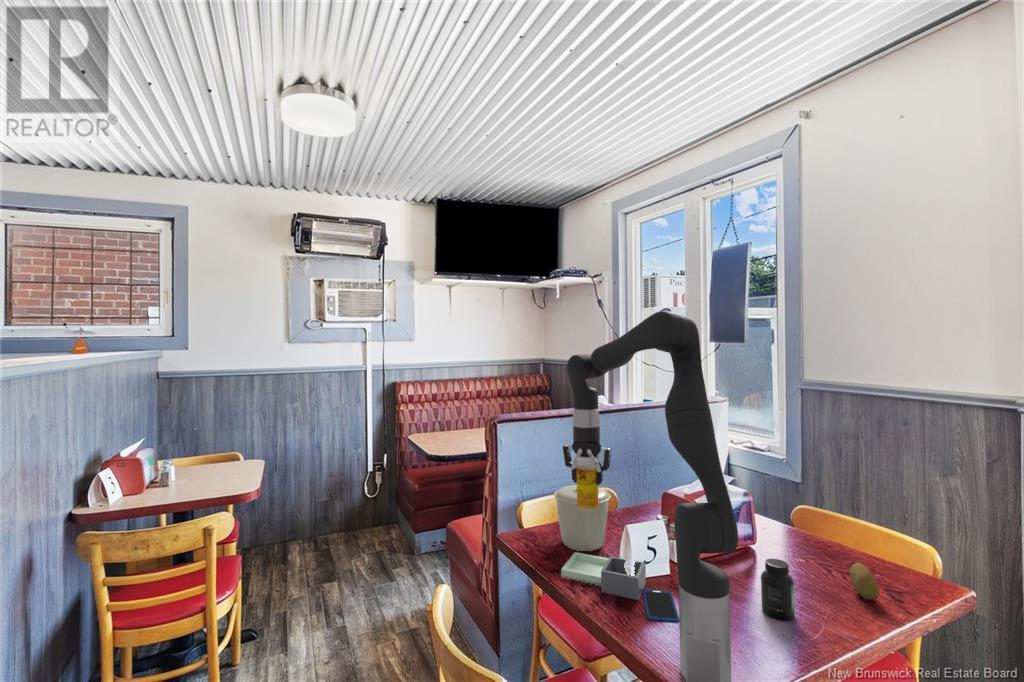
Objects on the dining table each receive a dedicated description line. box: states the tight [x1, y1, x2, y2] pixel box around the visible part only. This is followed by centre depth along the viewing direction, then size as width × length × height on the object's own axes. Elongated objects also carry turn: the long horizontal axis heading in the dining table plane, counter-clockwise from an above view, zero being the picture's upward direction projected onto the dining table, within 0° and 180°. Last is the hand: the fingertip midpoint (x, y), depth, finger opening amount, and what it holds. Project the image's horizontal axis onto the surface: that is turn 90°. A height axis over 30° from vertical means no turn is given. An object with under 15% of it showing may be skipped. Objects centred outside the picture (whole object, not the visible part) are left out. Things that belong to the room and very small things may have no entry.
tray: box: [560, 551, 610, 587], centre depth 134 cm, size 12×12×2 cm
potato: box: [849, 562, 881, 601], centre depth 119 cm, size 7×8×8 cm
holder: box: [600, 555, 647, 601], centre depth 126 cm, size 10×10×6 cm
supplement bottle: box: [760, 558, 796, 622], centre depth 112 cm, size 7×7×12 cm
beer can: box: [576, 456, 599, 511], centre depth 134 cm, size 6×6×15 cm
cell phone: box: [641, 588, 679, 624], centre depth 117 cm, size 7×14×1 cm, turn 170°
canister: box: [553, 484, 611, 552], centre depth 152 cm, size 18×18×21 cm
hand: (587, 483), depth 134 cm, fingers closed on beer can, 6 cm apart
